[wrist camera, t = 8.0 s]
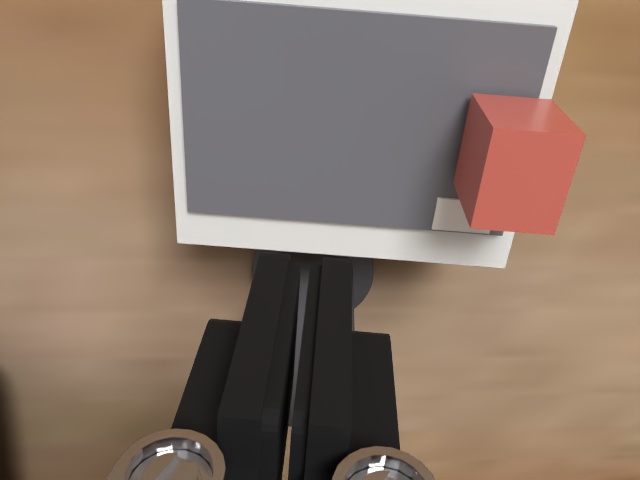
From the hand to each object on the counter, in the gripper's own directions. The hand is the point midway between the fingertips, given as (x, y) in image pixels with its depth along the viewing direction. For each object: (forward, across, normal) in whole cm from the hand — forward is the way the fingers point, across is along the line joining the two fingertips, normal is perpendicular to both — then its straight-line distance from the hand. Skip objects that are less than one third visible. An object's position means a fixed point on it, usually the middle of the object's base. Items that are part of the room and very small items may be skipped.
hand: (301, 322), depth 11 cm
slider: (+9, -6, -1) cm, 11 cm away
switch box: (+17, -1, -1) cm, 17 cm away
